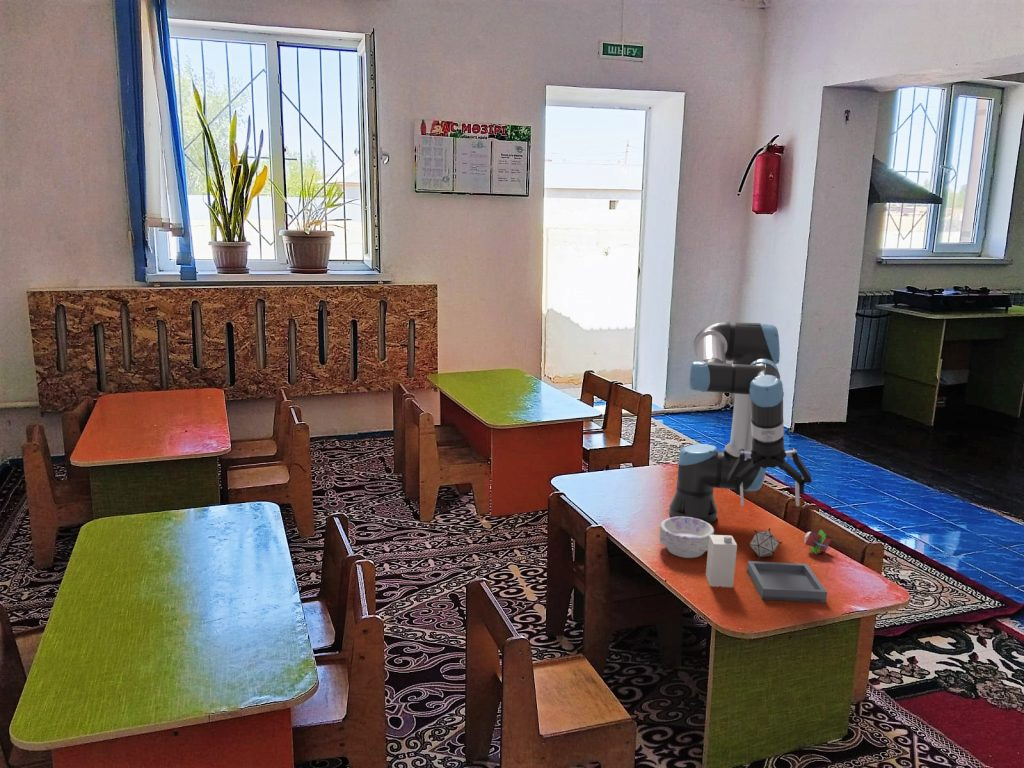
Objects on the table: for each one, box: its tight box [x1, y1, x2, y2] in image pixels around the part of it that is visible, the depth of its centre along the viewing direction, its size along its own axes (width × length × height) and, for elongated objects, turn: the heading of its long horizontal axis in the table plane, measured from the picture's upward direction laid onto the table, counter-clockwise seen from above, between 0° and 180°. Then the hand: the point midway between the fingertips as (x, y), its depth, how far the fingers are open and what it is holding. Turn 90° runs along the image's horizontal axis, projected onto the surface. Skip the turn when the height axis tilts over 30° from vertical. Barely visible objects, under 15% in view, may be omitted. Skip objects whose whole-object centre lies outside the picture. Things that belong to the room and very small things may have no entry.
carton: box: [705, 534, 738, 588], centre depth 204 cm, size 6×6×13 cm
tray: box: [746, 560, 828, 604], centre depth 203 cm, size 16×16×3 cm
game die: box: [746, 527, 783, 560], centre depth 220 cm, size 9×8×10 cm
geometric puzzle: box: [803, 528, 832, 555], centre depth 224 cm, size 7×7×8 cm
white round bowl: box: [659, 516, 715, 559], centre depth 222 cm, size 15×15×8 cm
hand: (769, 502), depth 199 cm, fingers open, 13 cm apart
